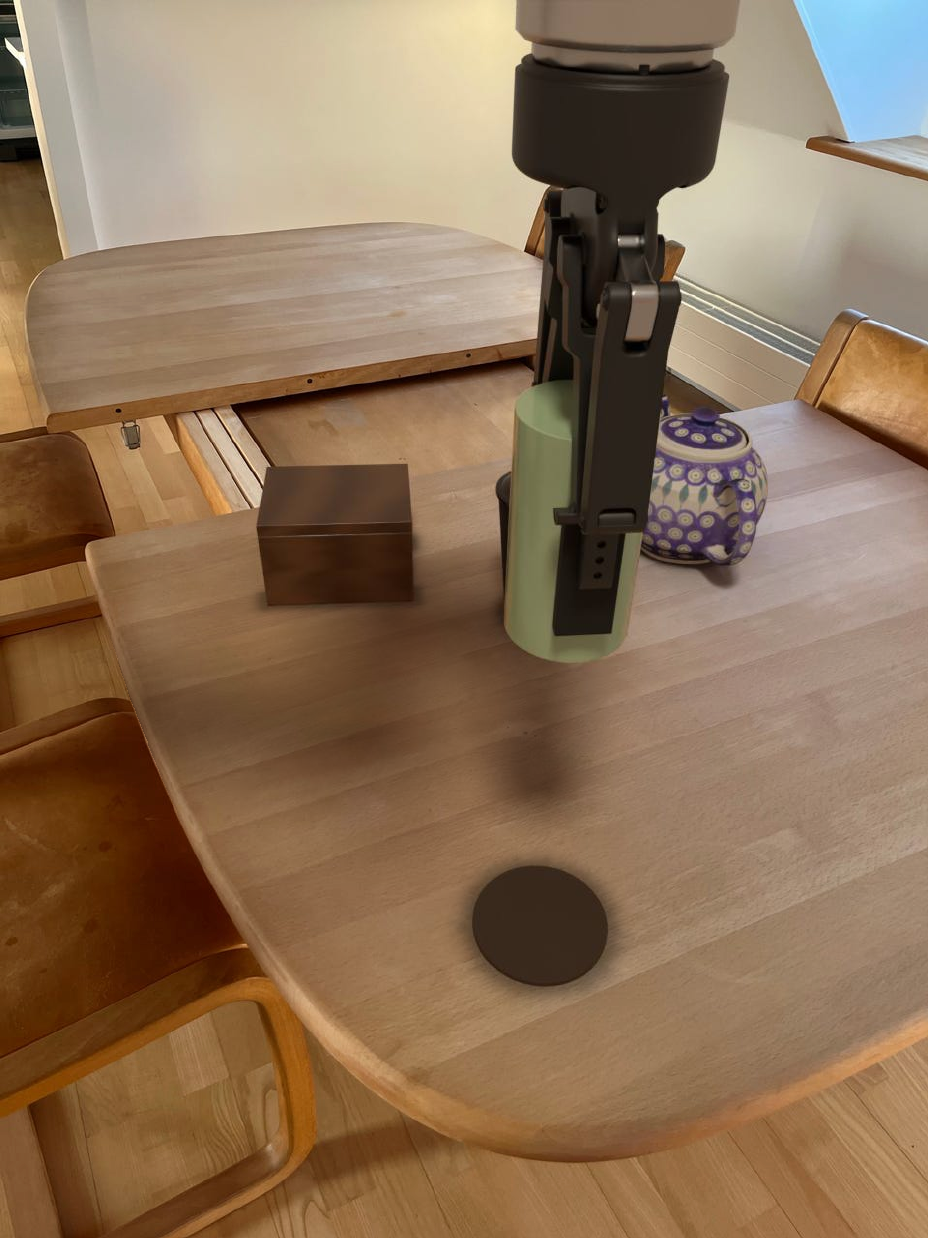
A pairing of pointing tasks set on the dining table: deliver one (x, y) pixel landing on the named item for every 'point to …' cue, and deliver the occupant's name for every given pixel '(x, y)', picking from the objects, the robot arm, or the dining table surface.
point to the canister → (550, 531)
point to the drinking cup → (504, 517)
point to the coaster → (540, 925)
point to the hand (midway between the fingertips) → (568, 585)
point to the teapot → (703, 490)
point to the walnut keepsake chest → (336, 534)
